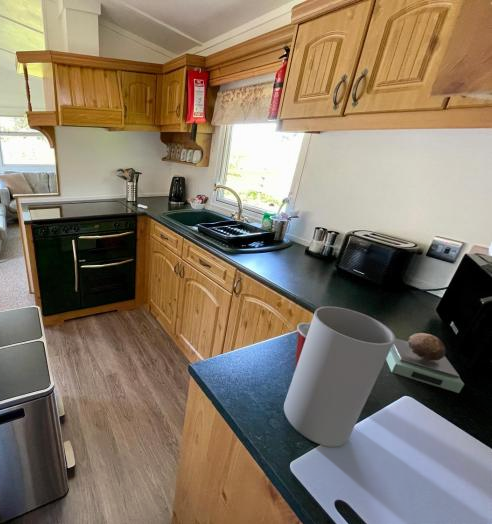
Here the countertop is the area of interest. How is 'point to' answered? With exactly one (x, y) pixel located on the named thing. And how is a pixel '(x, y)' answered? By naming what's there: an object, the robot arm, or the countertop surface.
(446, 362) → the scale pan
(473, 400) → the countertop surface
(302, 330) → the plastic cup
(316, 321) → the cylinder vase
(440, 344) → the brown potato
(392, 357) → the scale base
